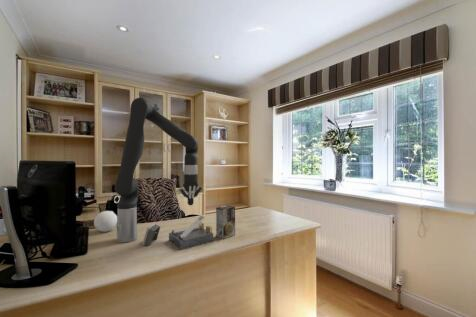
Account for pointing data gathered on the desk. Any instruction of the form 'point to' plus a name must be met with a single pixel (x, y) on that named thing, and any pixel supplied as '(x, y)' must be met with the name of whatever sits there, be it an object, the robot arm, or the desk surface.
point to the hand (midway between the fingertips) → (190, 205)
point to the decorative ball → (105, 221)
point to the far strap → (186, 229)
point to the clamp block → (192, 237)
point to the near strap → (191, 227)
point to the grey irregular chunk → (151, 234)
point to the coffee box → (225, 221)
